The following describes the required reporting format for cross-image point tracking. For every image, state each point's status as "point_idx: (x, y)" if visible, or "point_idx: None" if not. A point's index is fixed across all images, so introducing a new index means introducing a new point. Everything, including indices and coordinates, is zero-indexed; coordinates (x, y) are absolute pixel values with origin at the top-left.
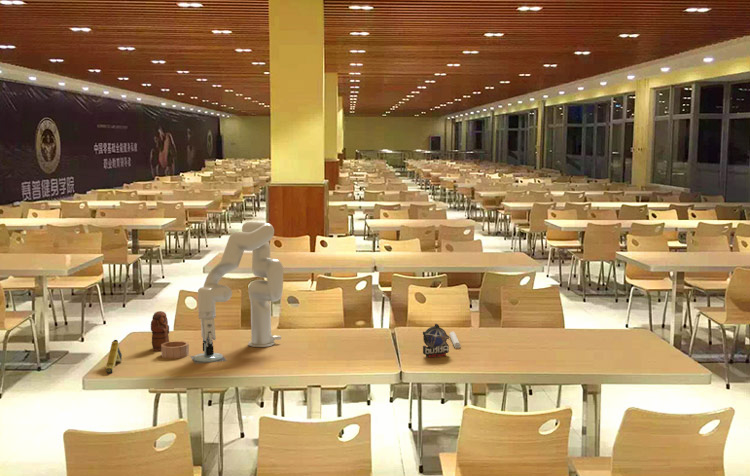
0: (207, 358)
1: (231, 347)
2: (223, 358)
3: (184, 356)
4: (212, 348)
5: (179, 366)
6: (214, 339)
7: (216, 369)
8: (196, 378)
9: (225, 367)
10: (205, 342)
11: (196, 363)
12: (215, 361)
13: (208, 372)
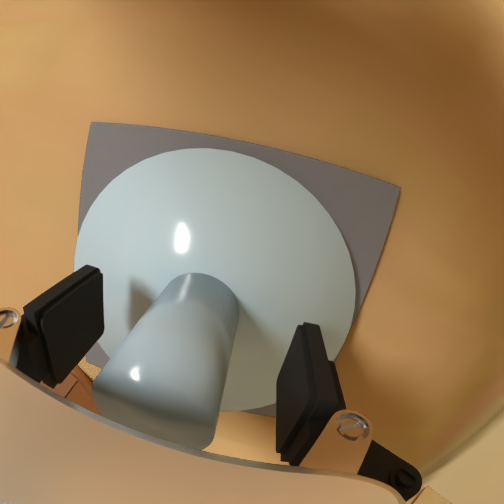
0: (277, 348)
1: (15, 29)
2: (301, 172)
3: (88, 388)
4: (327, 387)
5: (273, 463)
6: (394, 500)
7: (485, 343)
8: (482, 429)
9: (500, 282)
10: (44, 366)
11: None
12: (355, 292)
13: (481, 387)
